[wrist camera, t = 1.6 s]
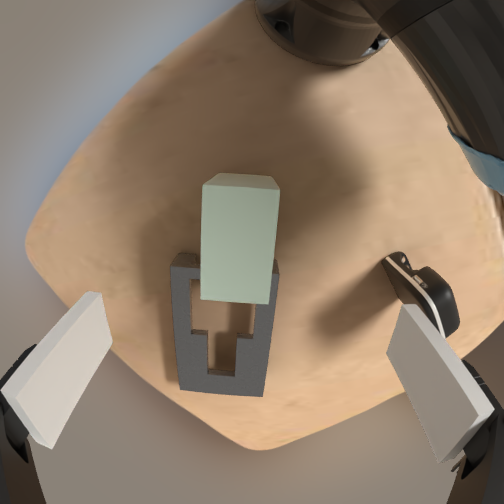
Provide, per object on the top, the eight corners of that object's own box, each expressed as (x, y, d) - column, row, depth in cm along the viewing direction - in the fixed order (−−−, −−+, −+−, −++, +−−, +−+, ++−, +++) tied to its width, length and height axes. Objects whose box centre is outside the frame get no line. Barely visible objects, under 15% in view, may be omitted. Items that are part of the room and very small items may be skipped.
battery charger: (421, 283, 34) (467, 330, 23) (398, 299, 35) (439, 351, 24) (403, 241, 32) (456, 282, 21) (379, 259, 33) (424, 307, 22)
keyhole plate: (178, 253, 33) (170, 266, 29) (276, 260, 33) (279, 274, 29) (185, 371, 39) (180, 389, 35) (262, 377, 39) (262, 396, 36)
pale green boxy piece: (219, 169, 30) (196, 184, 18) (273, 173, 30) (286, 190, 18) (215, 242, 32) (195, 299, 21) (267, 246, 32) (274, 304, 21)
